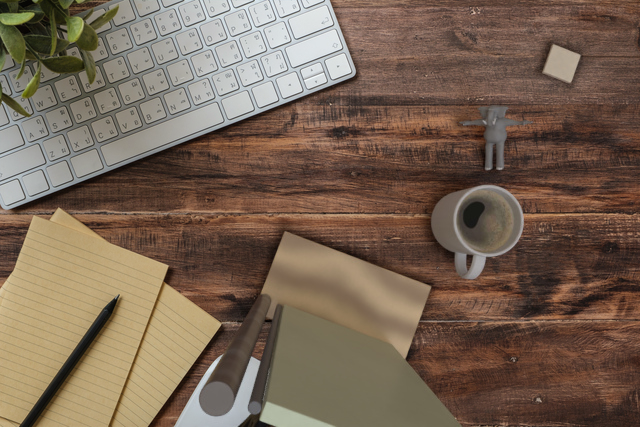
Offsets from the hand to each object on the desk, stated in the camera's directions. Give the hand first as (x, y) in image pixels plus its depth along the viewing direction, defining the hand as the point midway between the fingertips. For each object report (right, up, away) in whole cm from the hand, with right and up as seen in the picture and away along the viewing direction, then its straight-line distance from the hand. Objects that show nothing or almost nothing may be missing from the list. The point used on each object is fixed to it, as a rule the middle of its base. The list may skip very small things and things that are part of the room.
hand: (315, 404), depth 50 cm
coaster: (+36, +42, +20) cm, 59 cm away
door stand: (+4, +8, +17) cm, 19 cm away
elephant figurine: (+25, +31, +19) cm, 44 cm away
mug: (+20, +18, +18) cm, 33 cm away
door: (+2, +4, +15) cm, 16 cm away
